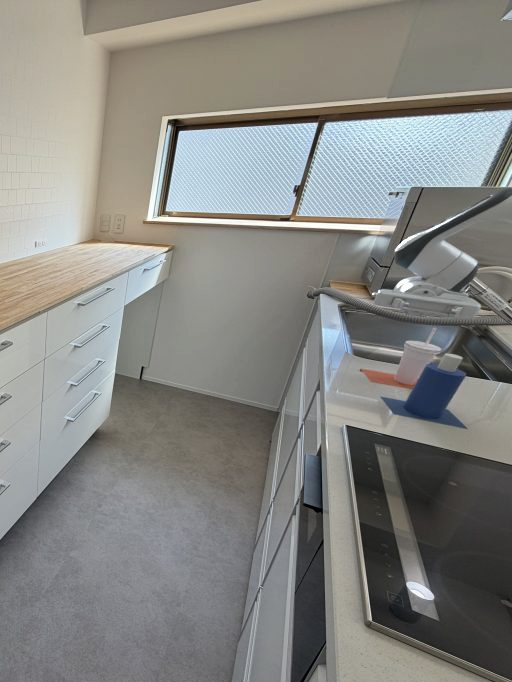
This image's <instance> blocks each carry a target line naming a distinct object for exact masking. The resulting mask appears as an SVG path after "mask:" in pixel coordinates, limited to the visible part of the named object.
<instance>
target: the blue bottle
mask: <svg viewBox="0 0 512 682" xmlns="http://www.w3.org/2000/svg"><path fill="white" fill-rule="evenodd" d="M463 359H464V357H463V356H460V355H458V354H455V353H454V354H453V353H445V354H444V355H443V357H442V358H441V360H440V362H439V363H430V364H427V365H426V366H425V368H424V370H423V371H422V373H421V375H420V376H419V378H418V380H417V382H416V384H415V386H414V388H413V389H411V390H410V391H411V392H410V393H409V395H408V397H407V398H406V400H405V401H406V402H405V404H404V406H403V407H404V409H406V410H407V411H409V412H411V413H413V414H415V415H418V416H422V417H426V418H431V419H438V418H440V417H441V416H442V414H443V412H444V411H445V409H447V408H448V406H449V404H451V403H450V402H451V401H452V399H453V398H454V396H455V394H456V392H457V391H458V389H459V388H460V386H461V385H462V383H463V382H464V380H465V379H466V377H467V373H466V372H465V371H463V370H461V369H459V368H458V367H459V366H460V364H461V362H462V361H463Z"/></svg>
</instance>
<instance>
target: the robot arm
mask: <svg viewBox="0 0 512 682" xmlns="http://www.w3.org/2000/svg"><path fill="white" fill-rule="evenodd" d="M482 222H502V223H507V224H512V187H509V188H508V187H507V188H504V189H502V190H499V191H497V192H495V193H492V194H491V195H489V196H487V197H484V198H482V199H481V200H479V201H477V202H475V203H473V204H471V205H470V206H467V207H465V208H464V209H462V210H460V211H458V212H456V213H454V214H453V215H450V216H449V217H447V218H445V219H444V220H442V221H439V222H438V223H436V224H434V225H432V226H430V227H428V228H425V229H423V230H421V231H419V232H417V233H416V234H413V235H411V236H409V237H408V238H406V239H404V240H403V241H402V242H401V243H399V245H398V246H397V247H396V248H395V249H394V253H393V259H394V263H395V264H396V265H397V266H399V267H402V268H404V269H405V270H408V271H409V272H411V273H413V274H414V275H416V276H409V277H406V278H404V279H401V280H400V281H398V282H397V284H396V285H395V286H394V288H393V289H382V288H381V289H379V290H377V292H373V293H372V294H371V296H372V297H374V299H373V305H375V306H378V307H384V308H392V309H399V310H400V311H401V312H402V313H403V314H406V315H408V316H413V317H422V316H425V317H427V316H428V317H429V316H430V317H431V316H437V317H446V318H458V319H459V318H460V319H465V320H474V319H476V317H477V316H478V314H479V313H480V311H481V309H482V304H481V303H480V302H478V300H476V299H474V298H471V297H469V295H470V294H469V293H467V292H463V291H461V290H462V289H464V288H465V287H466V286H467V285H469V284H470V283H471V282H472V281H473V280H474V279H475V277H477V273H478V270H479V267H480V264H479V260H477V259H475V258H474V257H472V256H471V255H469V254H468V253H466V252H464V251H463V250H461V249H459V248H457V247H456V246H454V245H453V244H451V243H449V242H447V241H446V240H445V239H447V238H449V237H451V236H453V235H455V234H457V233H460V232H461V231H463V230H465V229H467V228H469V227H472V226H474V225H476V224H478V223H482Z"/></svg>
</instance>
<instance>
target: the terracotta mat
mask: <svg viewBox="0 0 512 682" xmlns="http://www.w3.org/2000/svg"><path fill="white" fill-rule="evenodd" d="M359 371H360V372H361V373H363V374H364V375H365V377H366V378H367V379H368V380H369V382H371V383H375V384H380V385H386V386H392V387H397V388H403V389H408V390H412V389H413V388H414V386H415V384H416V382H417V380H418V379H419V378H418V379H417V380H416V382H415V383H414V384H413V385H407V384H403V383H400V382H397V381H395V380H394V378H395V375H396V373H389V372H383V371H378V370H373V369H365V368H360V369H359Z"/></svg>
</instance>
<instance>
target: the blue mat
mask: <svg viewBox="0 0 512 682" xmlns="http://www.w3.org/2000/svg"><path fill="white" fill-rule="evenodd" d="M380 399H381V400H382V401H383V402H384V404H385V406H387V408H388V409H389V411H391V413H392V414H393V415H395V416H396V415H397V416H401V417H406V418H411V419H416V420H421V421H425V422H430V423H435V424H439V425H440V424H441V425H445V426H450V427H456V428H460V429H466V430H469V428H468V427H467V426H466V425H465V424H464V423H463V422H461V420H460V419H459V418H458V417H457V416H456V415H454V413H452V412H451V411H450V410H449V409H448V408H446V409H445V411H444V412H443V414H442V416H441V417H440V418H438V419H431V418H426V417H422V416H418V415H415V414H413V413H411V412H409V411H407V410H406V409H404V407H403V406H404V404H405V402H406V400H401V399H396V398H391V397H386V396H382V395H381V396H380Z"/></svg>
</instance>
